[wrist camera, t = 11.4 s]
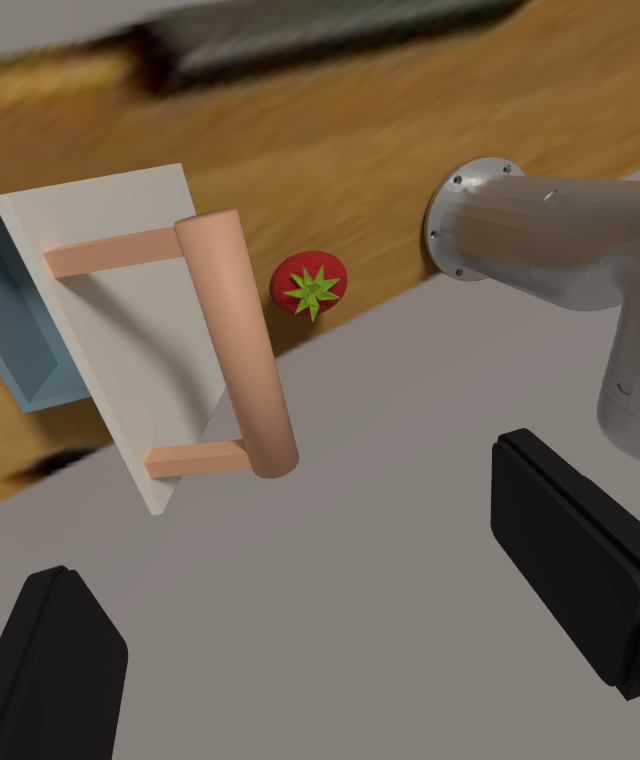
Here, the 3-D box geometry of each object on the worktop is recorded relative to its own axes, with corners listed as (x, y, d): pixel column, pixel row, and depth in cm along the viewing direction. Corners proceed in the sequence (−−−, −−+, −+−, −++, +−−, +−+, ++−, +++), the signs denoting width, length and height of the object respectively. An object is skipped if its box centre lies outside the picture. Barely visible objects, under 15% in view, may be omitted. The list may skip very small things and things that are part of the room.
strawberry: (337, 288, 47) (366, 316, 39) (271, 307, 47) (285, 340, 38) (327, 233, 44) (355, 251, 36) (256, 252, 44) (267, 275, 35)
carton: (180, 163, 39) (172, 164, 31) (228, 327, 46) (232, 361, 39) (-31, 205, 37) (-97, 217, 29) (56, 369, 44) (23, 414, 37)
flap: (172, 164, 31) (285, 141, 30) (232, 360, 39) (324, 349, 37) (-14, 197, 15) (211, 152, 14) (150, 518, 23) (304, 506, 22)
